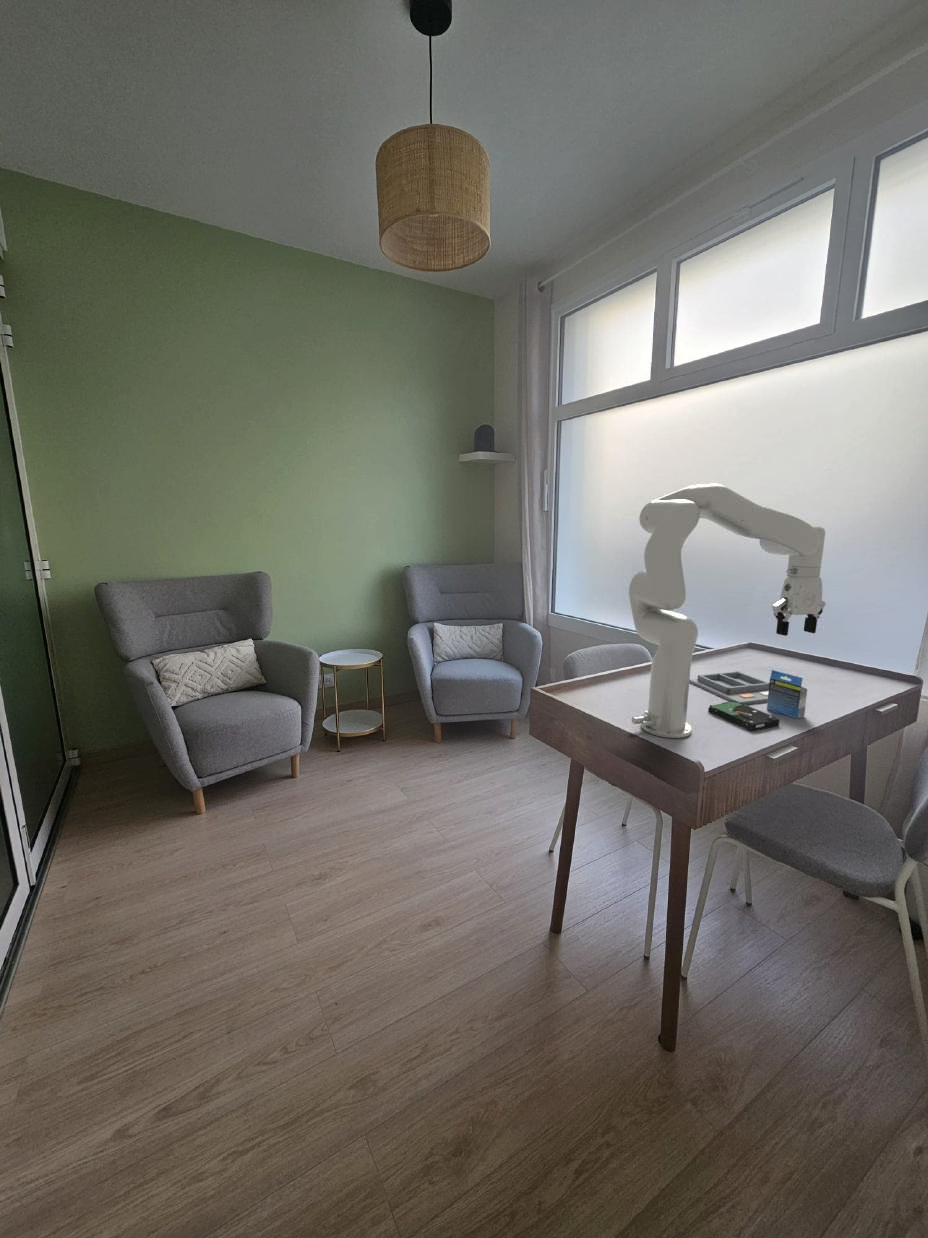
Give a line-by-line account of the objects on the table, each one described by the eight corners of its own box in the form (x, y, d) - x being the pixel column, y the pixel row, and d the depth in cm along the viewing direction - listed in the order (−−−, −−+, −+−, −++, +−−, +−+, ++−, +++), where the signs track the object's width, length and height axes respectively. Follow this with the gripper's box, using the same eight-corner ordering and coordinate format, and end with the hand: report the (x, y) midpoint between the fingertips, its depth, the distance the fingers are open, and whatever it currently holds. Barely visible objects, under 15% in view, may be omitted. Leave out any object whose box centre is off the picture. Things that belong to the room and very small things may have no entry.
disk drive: (779, 728, 138) (733, 708, 151) (780, 718, 137) (734, 699, 151) (751, 734, 134) (706, 713, 148) (753, 724, 133) (707, 704, 147)
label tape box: (804, 717, 144) (810, 675, 141) (797, 719, 142) (802, 677, 139) (773, 707, 151) (778, 667, 149) (765, 709, 149) (770, 669, 147)
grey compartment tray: (739, 705, 152) (740, 696, 152) (689, 682, 173) (689, 674, 172) (792, 698, 157) (793, 689, 157) (737, 677, 178) (738, 669, 178)
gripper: (790, 575, 132) (782, 638, 136) (841, 572, 137) (832, 634, 140) (766, 572, 139) (759, 632, 143) (815, 569, 144) (807, 628, 147)
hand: (795, 633), depth 142 cm, fingers open, 9 cm apart
